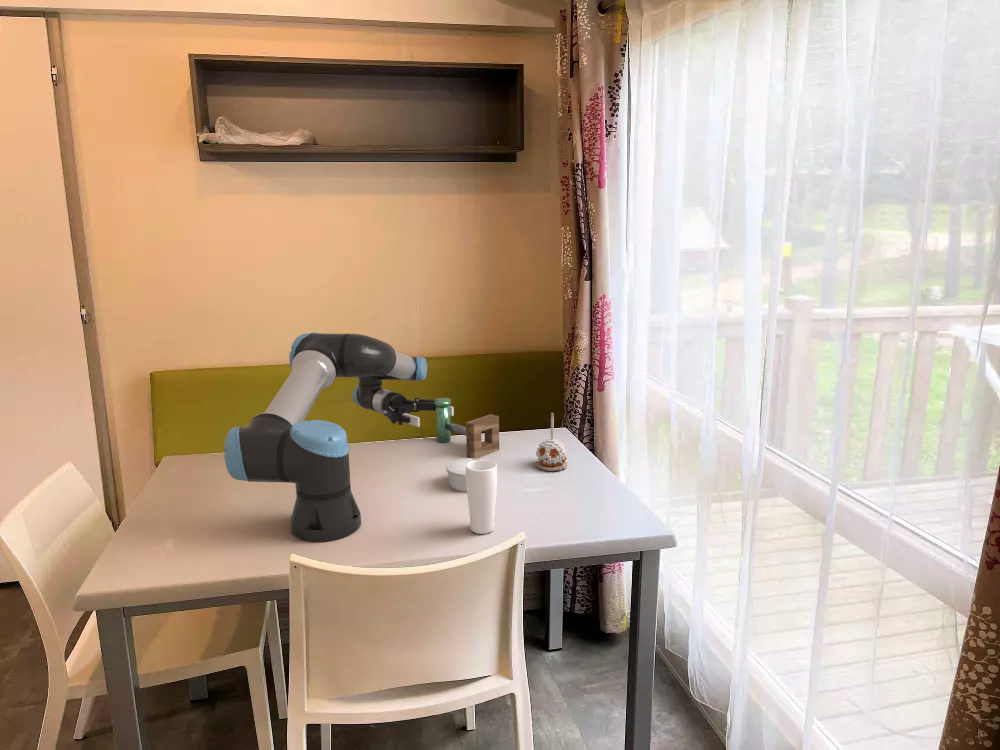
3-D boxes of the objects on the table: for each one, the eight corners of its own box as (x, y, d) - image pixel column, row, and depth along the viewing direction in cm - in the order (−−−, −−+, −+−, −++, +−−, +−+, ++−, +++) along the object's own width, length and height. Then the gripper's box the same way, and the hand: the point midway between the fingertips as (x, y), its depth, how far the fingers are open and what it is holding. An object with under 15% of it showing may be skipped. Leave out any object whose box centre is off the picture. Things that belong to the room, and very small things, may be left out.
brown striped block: (466, 456, 203) (466, 422, 200) (491, 447, 210) (491, 414, 208) (474, 459, 201) (473, 424, 199) (499, 449, 208) (498, 416, 206)
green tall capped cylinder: (432, 440, 216) (430, 400, 213) (444, 436, 219) (443, 396, 216) (468, 451, 206) (467, 410, 203) (480, 447, 209) (479, 406, 206)
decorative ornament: (532, 469, 193) (532, 415, 190) (544, 460, 200) (544, 407, 196) (559, 474, 190) (560, 419, 186) (571, 464, 196) (571, 411, 193)
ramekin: (500, 483, 185) (500, 463, 184) (472, 498, 176) (472, 477, 175) (466, 473, 191) (465, 454, 190) (438, 487, 183) (437, 467, 182)
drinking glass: (488, 539, 155) (487, 473, 152) (461, 532, 159) (459, 467, 155) (503, 526, 161) (502, 462, 157) (477, 520, 164) (475, 457, 161)
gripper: (420, 406, 240) (466, 418, 226) (358, 424, 223) (404, 439, 209) (419, 383, 238) (465, 395, 224) (357, 400, 221) (402, 414, 207)
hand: (436, 416), depth 216 cm, fingers open, 13 cm apart
